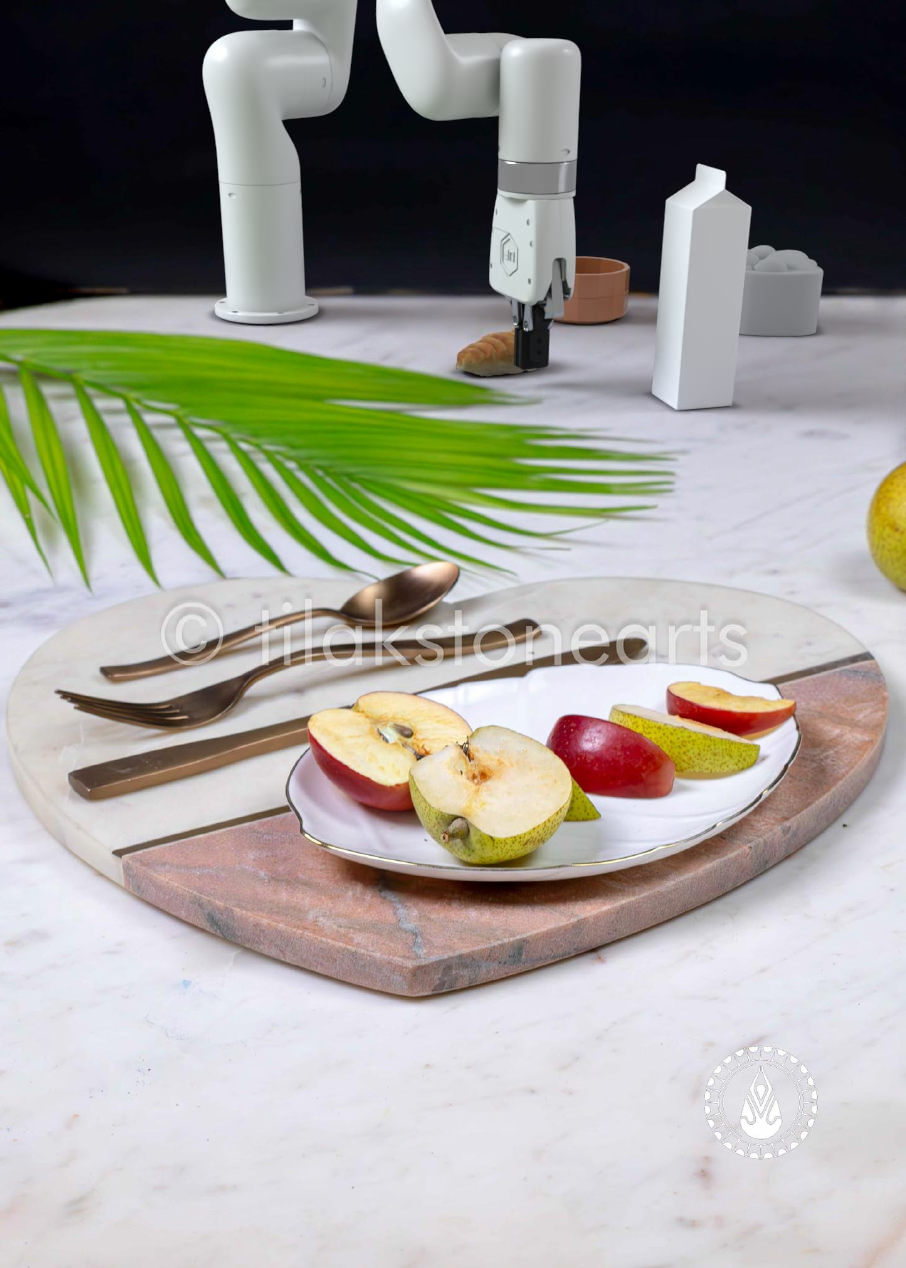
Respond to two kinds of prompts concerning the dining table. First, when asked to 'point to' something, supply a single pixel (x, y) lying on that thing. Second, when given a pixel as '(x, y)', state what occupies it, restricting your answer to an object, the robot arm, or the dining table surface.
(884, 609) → the dining table surface
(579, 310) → the bowl
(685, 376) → the milk
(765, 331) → the lumpy-topped squat cylinder
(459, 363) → the pastry
